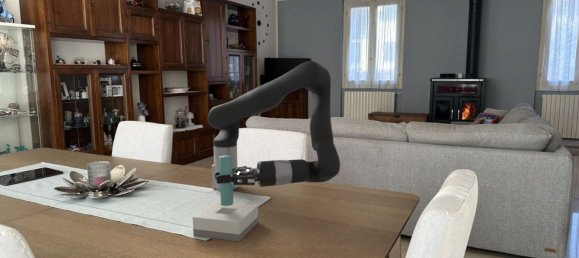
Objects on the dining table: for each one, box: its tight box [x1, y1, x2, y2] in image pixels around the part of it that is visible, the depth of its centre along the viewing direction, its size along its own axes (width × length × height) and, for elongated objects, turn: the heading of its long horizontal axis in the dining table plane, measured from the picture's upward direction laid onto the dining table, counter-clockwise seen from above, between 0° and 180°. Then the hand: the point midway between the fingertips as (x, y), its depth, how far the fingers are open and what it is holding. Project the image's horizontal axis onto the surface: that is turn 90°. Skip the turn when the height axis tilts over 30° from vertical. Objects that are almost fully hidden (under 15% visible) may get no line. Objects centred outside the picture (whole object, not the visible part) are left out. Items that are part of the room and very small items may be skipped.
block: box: [192, 201, 259, 242], centre depth 113 cm, size 14×14×6 cm
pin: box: [219, 155, 234, 206], centre depth 111 cm, size 4×4×14 cm
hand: (216, 177), depth 111 cm, fingers closed on pin, 3 cm apart
